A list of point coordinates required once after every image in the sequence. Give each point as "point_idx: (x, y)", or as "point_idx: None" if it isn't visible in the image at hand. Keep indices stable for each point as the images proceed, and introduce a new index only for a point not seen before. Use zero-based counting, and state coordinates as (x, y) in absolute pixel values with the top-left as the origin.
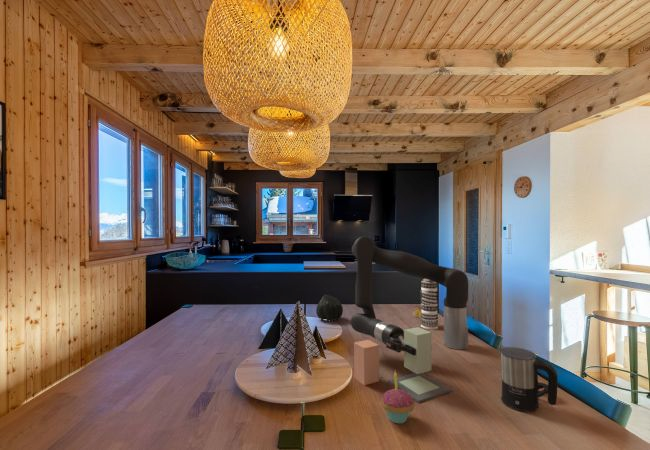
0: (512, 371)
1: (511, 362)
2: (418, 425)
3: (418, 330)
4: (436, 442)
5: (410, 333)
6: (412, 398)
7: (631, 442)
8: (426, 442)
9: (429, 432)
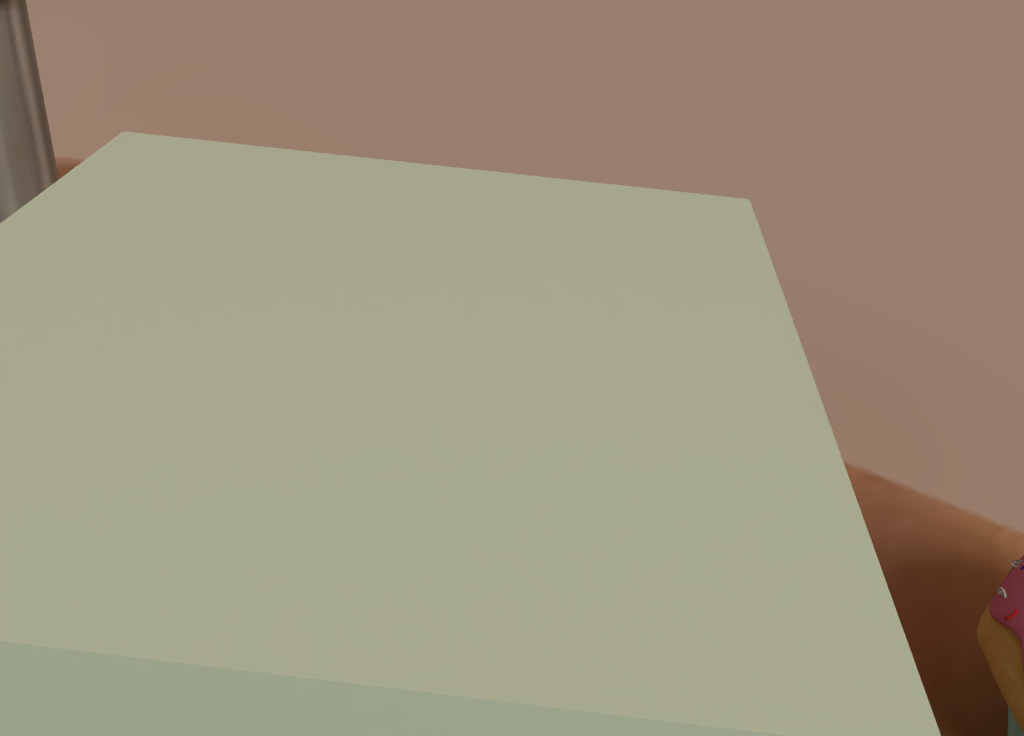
0: (41, 120)
1: (24, 40)
2: (936, 641)
3: (243, 332)
4: (904, 497)
5: (801, 399)
6: (1014, 581)
7: (72, 160)
8: (972, 524)
9: (893, 560)
